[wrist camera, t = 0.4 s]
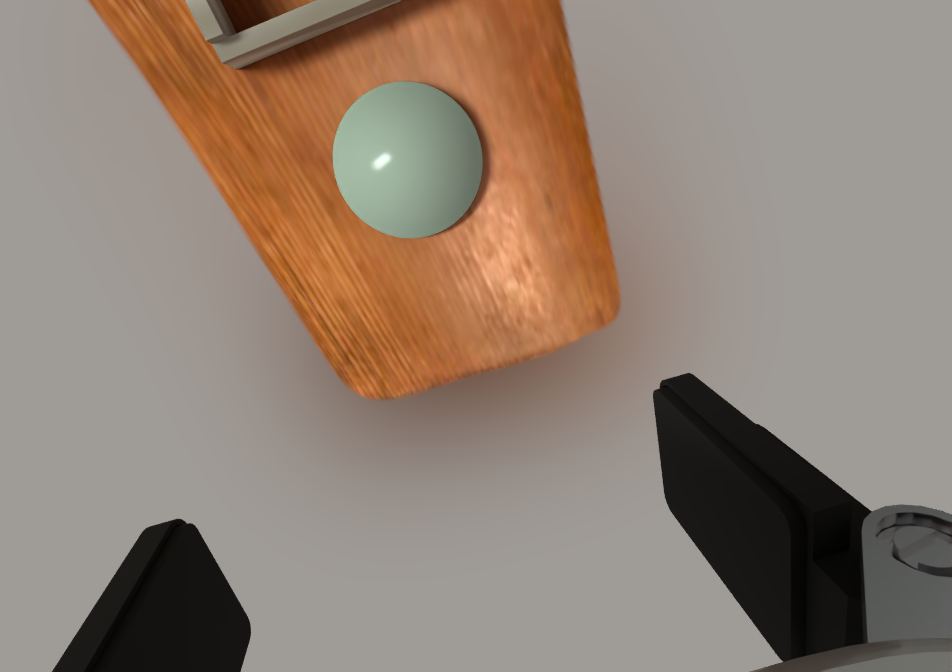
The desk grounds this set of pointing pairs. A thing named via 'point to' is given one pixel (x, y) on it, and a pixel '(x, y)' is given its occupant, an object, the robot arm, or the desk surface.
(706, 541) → the robot arm
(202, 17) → the frame
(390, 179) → the saucer
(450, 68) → the desk surface
